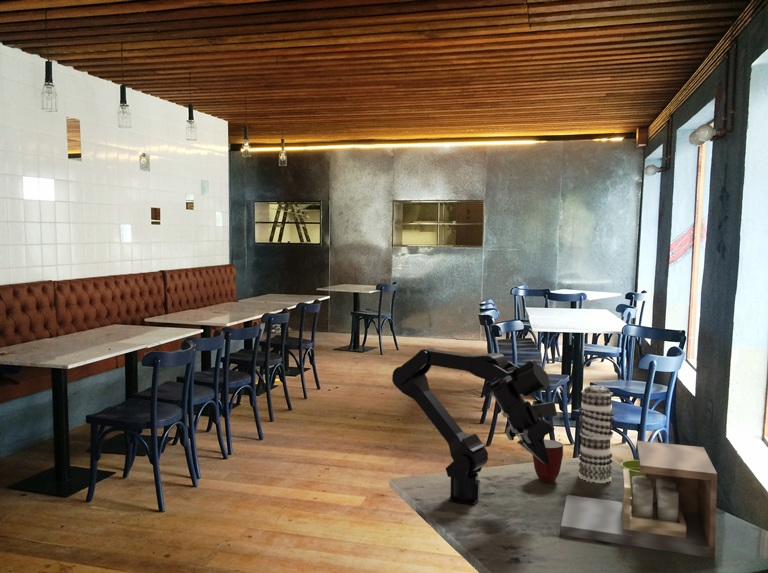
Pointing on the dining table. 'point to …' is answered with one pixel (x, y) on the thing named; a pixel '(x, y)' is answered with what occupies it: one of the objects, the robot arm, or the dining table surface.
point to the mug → (551, 469)
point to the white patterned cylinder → (595, 434)
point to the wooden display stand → (657, 463)
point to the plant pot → (632, 470)
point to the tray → (649, 522)
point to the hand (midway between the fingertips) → (547, 463)
